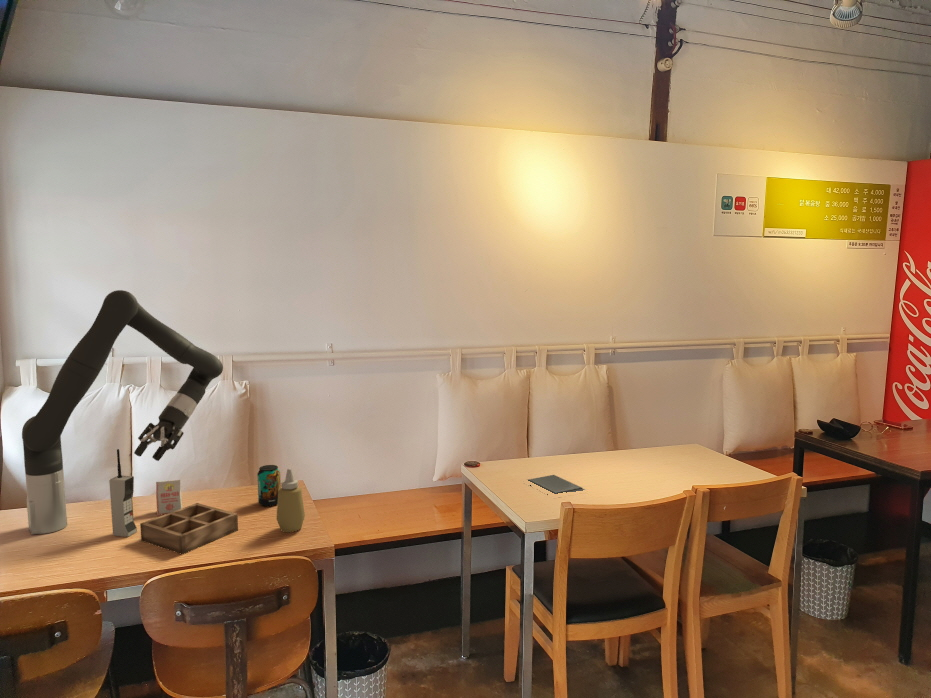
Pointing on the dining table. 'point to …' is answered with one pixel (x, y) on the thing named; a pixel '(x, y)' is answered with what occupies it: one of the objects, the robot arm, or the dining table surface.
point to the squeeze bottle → (290, 504)
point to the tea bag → (168, 496)
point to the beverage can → (268, 485)
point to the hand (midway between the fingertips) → (145, 457)
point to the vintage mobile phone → (122, 503)
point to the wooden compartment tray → (189, 527)
